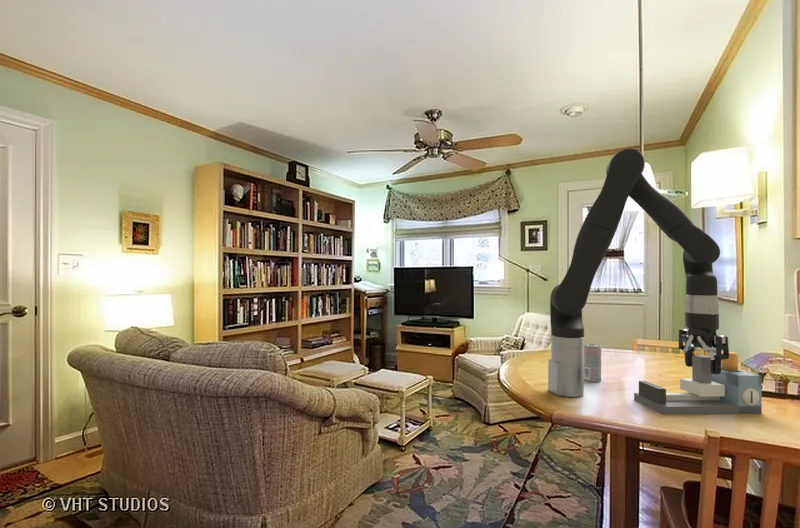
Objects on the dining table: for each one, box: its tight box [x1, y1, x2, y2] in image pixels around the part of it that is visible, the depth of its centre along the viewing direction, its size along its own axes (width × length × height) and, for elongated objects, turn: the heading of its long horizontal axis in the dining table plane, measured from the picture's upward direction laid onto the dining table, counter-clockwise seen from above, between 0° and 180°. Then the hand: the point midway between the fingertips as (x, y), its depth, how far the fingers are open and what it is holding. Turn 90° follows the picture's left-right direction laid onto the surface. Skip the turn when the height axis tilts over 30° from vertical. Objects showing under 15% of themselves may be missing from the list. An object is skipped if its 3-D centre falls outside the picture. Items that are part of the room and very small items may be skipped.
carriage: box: [679, 354, 725, 397], centre depth 111 cm, size 7×7×10 cm
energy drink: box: [584, 343, 602, 383], centre depth 137 cm, size 5×5×12 cm
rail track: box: [633, 368, 763, 416], centre depth 111 cm, size 27×12×10 cm, turn 94°
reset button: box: [721, 351, 739, 371], centre depth 112 cm, size 4×4×4 cm
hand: (702, 370), depth 111 cm, fingers open, 8 cm apart
